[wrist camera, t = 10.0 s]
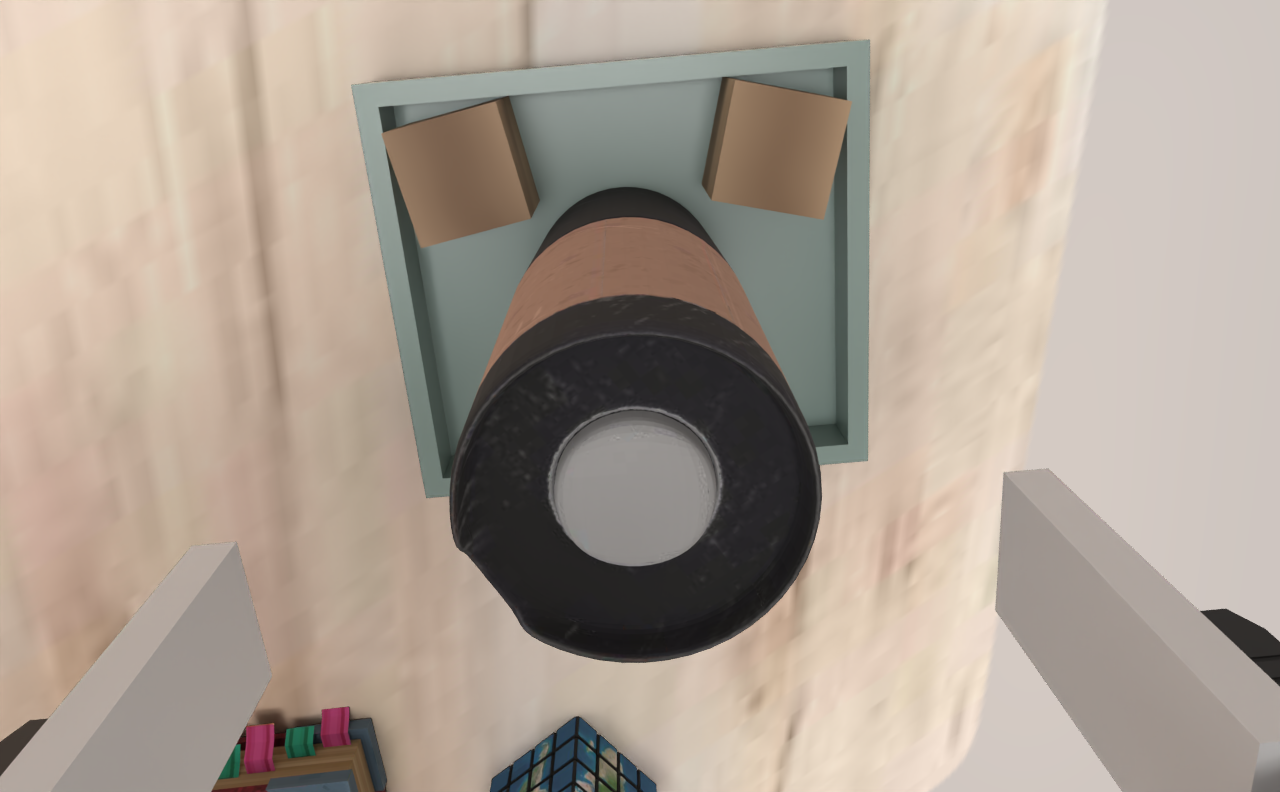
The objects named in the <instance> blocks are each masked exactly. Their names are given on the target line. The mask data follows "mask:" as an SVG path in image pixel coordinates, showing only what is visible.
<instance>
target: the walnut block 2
mask: <svg viewBox="0 0 1280 792" xmlns="http://www.w3.org/2000/svg"><path fill="white" fill-rule="evenodd" d="M851 104H852V101H848V100H844V99H840V98H835V97H831V96H827V95H821V94H816V93H811V92H805V91H800V90H794V89H789V88H783V87H778V86H773V85H767V84H762V83H756V82H751V81H745V80H740V79H735V78H729V77H722V81H721V86H720V91H719V97H718V102H717V107H716V112H715V117H714V122H713V128H712V133H711V138H710V143H709V148H708V154H707V159H706V164H705V169H704V174H703V179H702V186H703V188H704V189H705V191H706V192H707V194H708V196H709V197H710V199H711V200H712V201H718V202H724V203H729V204H735V205H741V206H747V207H752V208H758V209H764V210H770V211H776V212H781V213H787V214H793V215H799V216H804V217H810V218H816V219H822V220H824V216H825V212H826V208H827V204H828V200H829V196H830V191H831V187H832V183H833V179H834V175H835V171H836V167H837V162H838V158H839V154H840V150H841V146H842V142H843V138H844V133H845V129H846V125H847V121H848V117H849V113H850V109H851Z"/></svg>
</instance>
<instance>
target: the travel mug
mask: <svg viewBox="0 0 1280 792" xmlns="http://www.w3.org/2000/svg"><path fill="white" fill-rule="evenodd" d="M449 493H450V520H451V529H452V534H453V539H454V542H455V544H456V547H457V548H458V549H459V550H460V551H462V552H464V553H465V554H467V555H468V556H469V558H470V559H471V560H472V561H473V562H474V563H475V565H476V566H477V567H478V568H479V569H480V571H481V572H482V573H483V574H484V576H485V577H486V578H487V579H488V581H489V582H490V583H491V584H492V585H493V587H494V588H495V589H496V590H497V591H498V593H499V594H500V595H501V596H502V598H503V599H504V600H505V601H506V603H507V604H508V605H509V607H510V608H511V609H512V611H513V612H514V614H515V616H516V617H517V619H518V621H519V623H520V624H521V626H522V627H523V629H524V630H525V631H526V632H527V633H528V634H530V635H531V636H532V637H534V638H536V639H538V640H539V641H541V642H543V643H545V644H548V645H550V646H553V647H555V648H557V649H560V650H563V651H566V652H569V653H572V654H576V655H579V656H583V657H588V658H593V659H597V660H603V661H612V662H621V663H646V662H655V661H665V660H671V659H675V658H680V657H684V656H689V655H692V654H695V653H698V652H701V651H704V650H707V649H710V648H712V647H714V646H716V645H718V644H720V643H723V642H725V641H727V640H729V639H731V638H733V637H734V636H736V635H737V634H739V633H741V632H742V631H744V630H745V629H747V628H749V627H750V626H751V625H753V624H754V623H755V622H756V621H758V620H759V619H760V618H761V617H763V616H764V615H765V614H766V613H767V612H768V611H769V610H770V609H771V608H772V607H773V606H774V605H775V604H776V603H777V602H778V601H779V600H780V599H781V598H782V597H783V596H784V594H785V593H786V592H787V590H788V589H789V588H790V586H791V585H792V584H793V582H794V581H795V580H796V578H797V576H798V574H799V572H800V571H801V569H802V567H803V565H804V564H805V562H806V560H807V558H808V555H809V553H810V550H811V548H812V545H813V543H814V540H815V536H816V532H817V528H818V524H819V520H820V512H821V501H822V488H821V471H820V466H819V461H818V456H817V451H816V447H815V444H814V441H813V439H812V436H811V433H810V430H809V427H808V425H807V422H806V420H805V418H804V416H803V414H802V412H801V410H800V408H799V405H798V403H797V401H796V399H795V397H794V395H793V393H792V391H791V389H790V387H789V384H788V382H787V380H786V378H785V376H784V374H783V372H782V370H781V368H780V365H779V363H778V361H777V359H776V357H775V355H774V353H773V351H772V349H771V346H770V344H769V342H768V340H767V338H766V336H765V334H764V332H763V330H762V327H761V325H760V323H759V321H758V319H757V317H756V315H755V313H754V311H753V308H752V306H751V304H750V302H749V300H748V298H747V296H746V294H745V292H744V289H743V288H742V286H741V284H740V282H739V280H738V278H737V276H736V274H735V273H734V271H733V270H732V268H731V267H730V265H729V264H728V262H727V261H726V260H725V258H724V257H723V255H722V254H721V252H720V251H719V249H718V248H717V246H716V245H715V243H714V242H713V241H712V239H711V238H710V236H709V235H708V233H707V232H706V231H705V229H704V228H703V226H702V225H701V224H700V222H699V221H698V220H697V219H696V218H695V217H694V216H693V215H692V214H691V213H690V212H689V211H688V210H687V209H686V208H684V207H683V206H682V205H681V204H679V203H678V202H676V201H675V200H673V199H671V198H670V197H668V196H665V195H663V194H661V193H659V192H655V191H652V190H648V189H643V188H637V187H619V188H610V189H607V190H603V191H599V192H596V193H594V194H591V195H589V196H587V197H585V198H583V199H582V200H580V201H578V202H577V203H575V204H574V205H573V206H571V207H570V208H569V209H568V210H567V211H566V212H565V213H564V214H563V215H562V216H561V217H560V218H558V220H557V221H556V222H555V224H554V225H553V226H552V228H551V229H550V231H549V232H548V234H547V235H546V237H545V239H544V241H543V242H542V244H541V246H540V248H539V249H538V251H537V253H536V255H535V256H534V258H533V260H532V262H531V263H530V265H529V267H528V269H527V270H526V272H525V274H524V276H523V277H522V279H521V281H520V283H519V285H518V286H517V289H516V291H515V294H514V296H513V299H512V302H511V304H510V307H509V309H508V312H507V315H506V317H505V320H504V323H503V325H502V328H501V330H500V333H499V336H498V338H497V341H496V344H495V346H494V349H493V352H492V354H491V357H490V359H489V362H488V365H487V367H486V370H485V373H484V375H483V378H482V381H481V383H480V386H479V388H478V391H477V394H476V396H475V399H474V402H473V404H472V407H471V409H470V412H469V415H468V417H467V420H466V423H465V425H464V428H463V430H462V433H461V436H460V438H459V441H458V444H457V448H456V453H455V457H454V461H453V465H452V470H451V480H450V490H449Z"/></svg>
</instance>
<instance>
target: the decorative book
mask: <svg viewBox="0 0 1280 792" xmlns="http://www.w3.org/2000/svg"><path fill="white" fill-rule="evenodd" d="M386 782H387V779H386V775H385V771H384V767H383V763H382V759H381V755H380V751H379V747H378V743H377V740H376V736H375V732H374V728H373V724H372V720H371V718H367V719H359V720H350V721H349V707H341V708H333V709H324V710H322V723H321V724H317V725H308V726H300V727H295V728H290V729H287V730H286V733H278V734H274V723H270V724H261V725H252V726H246V737H242V738H239V740H238V742H237V744H236V746H235V747H234V749H233V751H232V753H231V755H230V757H229V759H228V761H227V763H226V765H225V766H224V768H223V770H222V772H221V774H220V776H219V778H218V780H217V782H216V783H215V785H214V787H213V789H212V791H211V792H386V791H385V786H386Z"/></svg>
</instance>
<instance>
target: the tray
mask: <svg viewBox="0 0 1280 792" xmlns="http://www.w3.org/2000/svg"><path fill="white" fill-rule="evenodd" d="M722 77H729V78H735V79H740V80H745V81H751V82H756V83H762V84H767V85H773V86H778V87H783V88H789V89H794V90H800V91H805V92H811V93H816V94H821V95H827V96H831V97H835V98H840V99H844V100H848V101H852V104H851V109H850V113H849V117H848V121H847V125H846V129H845V133H844V138H843V142H842V146H841V150H840V154H839V158H838V162H837V167H836V171H835V175H834V179H833V183H832V187H831V191H830V196H829V200H828V204H827V208H826V212H825V216H824V220H822V219H816V218H810V217H804V216H799V215H793V214H787V213H781V212H776V211H770V210H764V209H758V208H752V207H747V206H741V205H735V204H729V203H724V202H718V201H712V200H711V199H710V197H709V196H708V194H707V192H706V191H705V189H704V188H703V186H702V179H703V174H704V169H705V164H706V159H707V154H708V148H709V143H710V138H711V133H712V128H713V122H714V117H715V112H716V107H717V102H718V97H719V91H720V86H721V81H722ZM351 87H352V92H353V98H354V103H355V109H356V114H357V120H358V125H359V131H360V136H361V142H362V147H363V153H364V158H365V164H366V169H367V175H368V180H369V186H370V191H371V197H372V202H373V208H374V213H375V219H376V224H377V230H378V235H379V241H380V246H381V252H382V257H383V263H384V268H385V274H386V279H387V285H388V290H389V296H390V302H391V307H392V313H393V318H394V324H395V329H396V335H397V340H398V346H399V351H400V357H401V362H402V368H403V373H404V379H405V384H406V390H407V395H408V401H409V406H410V412H411V417H412V423H413V428H414V434H415V439H416V445H417V450H418V456H419V461H420V467H421V472H422V478H423V483H424V489H425V494H426V498H433V497H445V496H450V493H449V490H450V480H451V470H452V465H453V461H454V457H455V453H456V448H457V444H458V441H459V438H460V436H461V433H462V430H463V428H464V425H465V423H466V420H467V417H468V415H469V412H470V409H471V407H472V404H473V402H474V399H475V396H476V394H477V391H478V388H479V386H480V383H481V381H482V378H483V375H484V373H485V370H486V367H487V365H488V362H489V359H490V357H491V354H492V352H493V349H494V346H495V344H496V341H497V338H498V336H499V333H500V330H501V328H502V325H503V323H504V320H505V317H506V315H507V312H508V309H509V307H510V304H511V302H512V299H513V296H514V294H515V291H516V289H517V286H518V285H519V283H520V281H521V279H522V277H523V276H524V274H525V272H526V270H527V269H528V267H529V265H530V263H531V262H532V260H533V258H534V256H535V255H536V253H537V251H538V249H539V248H540V246H541V244H542V242H543V241H544V239H545V237H546V235H547V234H548V232H549V231H550V229H551V228H552V226H553V225H554V224H555V222H556V221H557V220H558V218H560V217H561V216H562V215H563V214H564V213H565V212H566V211H567V210H568V209H569V208H570V207H571V206H573V205H574V204H575V203H577V202H578V201H580V200H582V199H583V198H585V197H587V196H589V195H591V194H594V193H596V192H599V191H603V190H607V189H610V188H619V187H637V188H643V189H648V190H652V191H655V192H659V193H661V194H663V195H665V196H668V197H670V198H671V199H673V200H675V201H676V202H678V203H679V204H681V205H682V206H683V207H684V208H686V209H687V210H688V211H689V212H690V213H691V214H692V215H693V216H694V217H695V218H696V219H697V220H698V221H699V222H700V224H701V225H702V226H703V228H704V229H705V231H706V232H707V233H708V235H709V236H710V238H711V239H712V241H713V242H714V243H715V245H716V246H717V248H718V249H719V251H720V252H721V254H722V255H723V257H724V258H725V260H726V261H727V262H728V264H729V265H730V267H731V268H732V270H733V271H734V273H735V274H736V276H737V278H738V280H739V282H740V284H741V286H742V288H743V289H744V292H745V294H746V296H747V298H748V300H749V302H750V304H751V306H752V308H753V311H754V313H755V315H756V317H757V319H758V321H759V323H760V325H761V327H762V330H763V332H764V334H765V336H766V338H767V340H768V342H769V344H770V346H771V349H772V351H773V353H774V355H775V357H776V359H777V361H778V363H779V365H780V368H781V370H782V372H783V374H784V376H785V378H786V380H787V382H788V384H789V387H790V389H791V391H792V393H793V395H794V397H795V399H796V401H797V403H798V405H799V408H800V410H801V412H802V414H803V416H804V418H805V420H806V422H807V425H808V427H809V430H810V433H811V436H812V439H813V441H814V444H815V447H816V451H817V456H818V461H819V465H825V464H837V463H849V462H860V461H868V345H869V141H870V40H847V41H835V42H824V43H812V44H801V45H789V46H778V47H766V48H755V49H744V50H732V51H721V52H709V53H698V54H686V55H675V56H663V57H652V58H641V59H629V60H618V61H606V62H595V63H583V64H572V65H560V66H549V67H538V68H526V69H515V70H503V71H492V72H480V73H469V74H457V75H446V76H434V77H423V78H412V79H400V80H389V81H377V82H368V83H362V84H355V85H351ZM506 96H509V98H510V102H511V105H512V109H513V112H514V115H515V119H516V122H517V125H518V129H519V132H520V135H521V139H522V142H523V145H524V149H525V152H526V156H527V159H528V162H529V166H530V169H531V172H532V176H533V179H534V182H535V186H536V189H537V193H538V196H539V199H540V202H539V204H538V206H537V208H536V210H535V212H534V214H533V216H532V218H531V219H528V220H524V221H521V222H517V223H513V224H510V225H506V226H502V227H498V228H495V229H491V230H487V231H484V232H480V233H476V234H472V235H469V236H465V237H461V238H458V239H454V240H450V241H446V242H443V243H439V244H435V245H432V246H428V247H424V248H421V247H420V244H419V241H418V238H417V235H416V232H415V229H414V227H413V224H412V221H411V218H410V215H409V212H408V209H407V207H406V204H405V201H404V198H403V195H402V192H401V189H400V187H399V184H398V181H397V178H396V175H395V172H394V169H393V166H392V164H391V161H390V158H389V155H388V152H387V149H386V146H385V144H384V141H383V138H382V135H381V133H384V132H387V131H389V130H392V129H395V128H397V127H400V126H403V125H406V124H409V123H413V122H416V121H420V120H423V119H427V118H431V117H434V116H438V115H441V114H445V113H448V112H452V111H456V110H459V109H463V108H466V107H470V106H474V105H477V104H481V103H484V102H488V101H491V100H495V99H499V98H502V97H506Z"/></svg>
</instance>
